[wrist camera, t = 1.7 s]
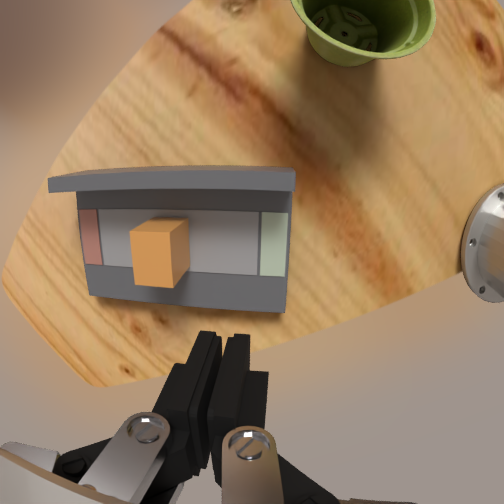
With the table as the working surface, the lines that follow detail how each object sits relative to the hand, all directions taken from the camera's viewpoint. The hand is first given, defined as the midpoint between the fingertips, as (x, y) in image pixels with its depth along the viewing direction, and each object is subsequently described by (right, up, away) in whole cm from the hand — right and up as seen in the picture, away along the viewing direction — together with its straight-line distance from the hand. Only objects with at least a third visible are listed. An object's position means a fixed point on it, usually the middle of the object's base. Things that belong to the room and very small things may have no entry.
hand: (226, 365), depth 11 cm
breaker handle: (-6, +5, +14) cm, 16 cm away
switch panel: (-5, +6, +17) cm, 18 cm away
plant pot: (+8, +22, +10) cm, 26 cm away
